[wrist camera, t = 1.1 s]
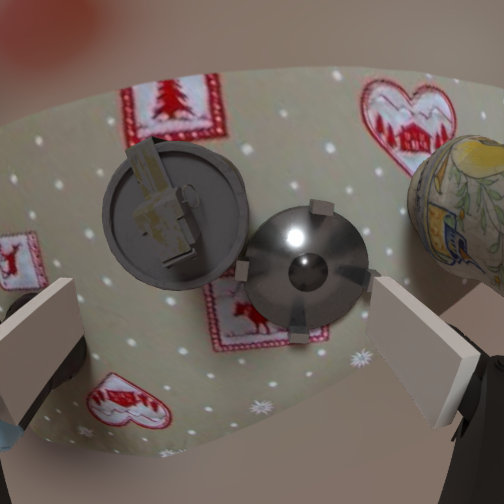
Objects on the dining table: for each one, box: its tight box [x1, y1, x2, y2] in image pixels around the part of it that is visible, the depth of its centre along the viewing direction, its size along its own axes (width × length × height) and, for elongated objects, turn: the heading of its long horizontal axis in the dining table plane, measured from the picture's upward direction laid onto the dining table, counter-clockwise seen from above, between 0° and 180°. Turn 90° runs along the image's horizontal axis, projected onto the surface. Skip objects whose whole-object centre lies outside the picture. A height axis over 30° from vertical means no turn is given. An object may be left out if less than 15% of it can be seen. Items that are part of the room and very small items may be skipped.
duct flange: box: [235, 199, 381, 344], centre depth 39 cm, size 18×18×4 cm
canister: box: [102, 136, 249, 291], centre depth 28 cm, size 11×10×20 cm
